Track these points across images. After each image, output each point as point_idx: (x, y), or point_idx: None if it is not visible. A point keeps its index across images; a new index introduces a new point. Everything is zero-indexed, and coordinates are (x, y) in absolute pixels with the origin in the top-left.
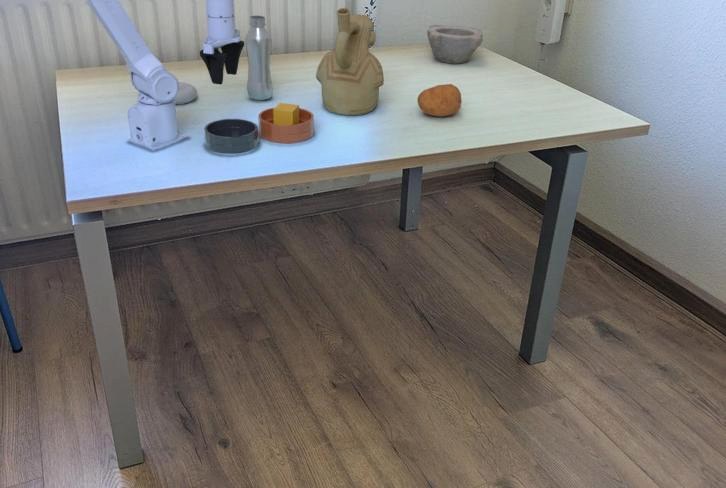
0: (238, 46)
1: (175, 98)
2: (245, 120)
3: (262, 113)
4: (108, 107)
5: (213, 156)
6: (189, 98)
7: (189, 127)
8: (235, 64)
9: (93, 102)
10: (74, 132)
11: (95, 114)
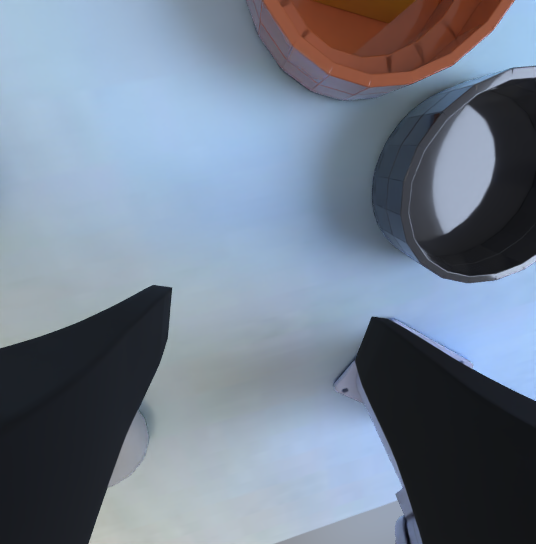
0: (28, 453)
1: (140, 428)
2: (425, 146)
3: (358, 70)
4: (203, 512)
5: None
6: None
7: (306, 334)
8: (145, 322)
9: (180, 540)
10: (354, 507)
11: (251, 515)
